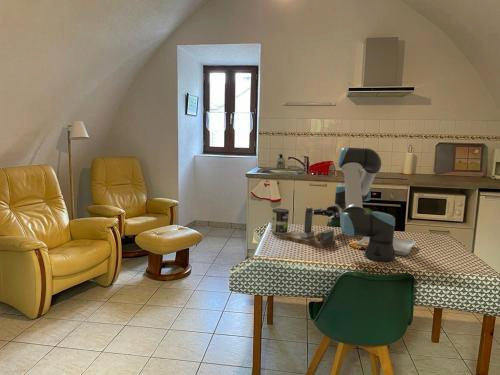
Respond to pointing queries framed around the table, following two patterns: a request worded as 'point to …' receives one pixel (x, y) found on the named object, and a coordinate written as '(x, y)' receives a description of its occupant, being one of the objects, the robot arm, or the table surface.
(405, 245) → the square plate
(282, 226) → the coffee can
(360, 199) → the robot arm
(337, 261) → the table surface
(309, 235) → the press carriage
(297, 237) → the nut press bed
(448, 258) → the table surface
